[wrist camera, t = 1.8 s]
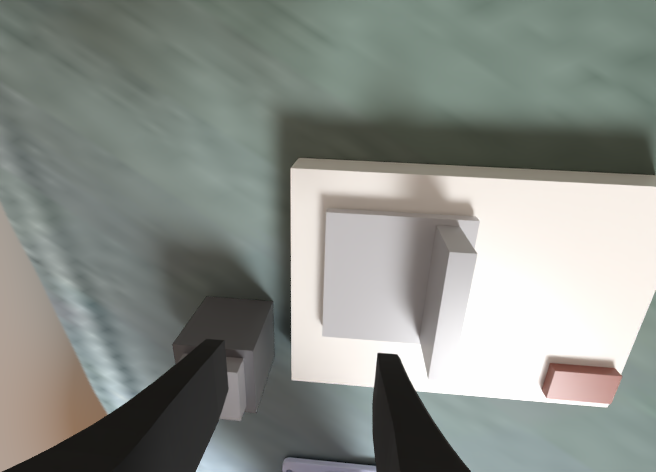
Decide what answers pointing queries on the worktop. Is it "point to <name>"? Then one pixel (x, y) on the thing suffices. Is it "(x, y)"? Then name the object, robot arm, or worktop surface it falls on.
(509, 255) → the socket plate
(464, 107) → the worktop surface
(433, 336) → the shutter
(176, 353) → the plug
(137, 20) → the worktop surface
